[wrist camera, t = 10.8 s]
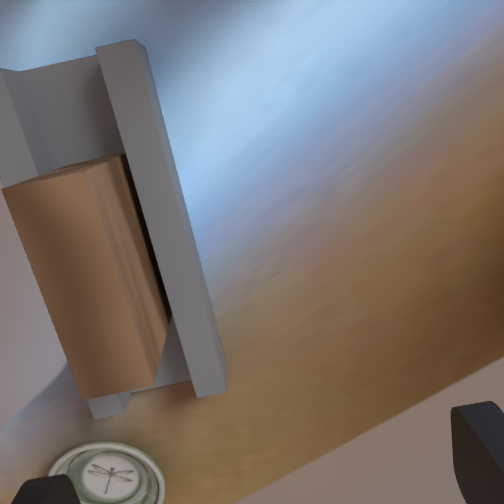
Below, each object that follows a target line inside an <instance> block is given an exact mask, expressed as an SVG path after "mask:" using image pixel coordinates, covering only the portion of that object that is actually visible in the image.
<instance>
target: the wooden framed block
mask: <svg viewBox="0 0 504 504" xmlns="http://www.w3.org/2000/svg"><path fill="white" fill-rule="evenodd" d="M2 192H3V195H4V197H5V200H6V202H7V205H8V208H9V210H10V213H11V215H12V218H13V221H14V223H15V226H16V228H17V231H18V234H19V236H20V239H21V241H22V244H23V247H24V249H25V252H26V254H27V257H28V259H29V262H30V265H31V267H32V270H33V273H34V275H35V277H36V280H37V283H38V285H39V288H40V291H41V293H42V296H43V298H44V301H45V304H46V306H47V309H48V311H49V314H50V316H51V319H52V322H53V324H54V327H55V330H56V332H57V334H58V337H59V340H60V342H61V345H62V348H63V350H64V353H65V355H66V358H67V361H68V363H69V366H70V368H71V371H72V374H73V376H74V379H75V381H76V384H77V387H78V389H79V392H80V394H81V397H82V399H83V400H87V399H92V398H97V397H102V396H106V395H111V394H116V393H121V392H126V391H131V390H136V389H140V388H145V387H150V386H154V382H155V378H156V374H157V370H158V367H159V363H160V359H161V355H162V351H163V347H164V343H165V339H166V336H167V332H168V328H169V324H170V320H171V316H172V311H171V308H170V304H169V301H168V297H167V294H166V290H165V287H164V283H163V280H162V276H161V273H160V269H159V266H158V262H157V259H156V255H155V252H154V248H153V245H152V242H151V238H150V235H149V231H148V228H147V224H146V221H145V217H144V214H143V211H142V207H141V204H140V200H139V197H138V193H137V190H136V187H135V183H134V180H133V176H132V173H131V169H130V166H129V162H128V159H127V156H126V153H122V154H118V155H113V156H108V157H103V158H99V159H94V160H89V161H84V162H80V163H75V164H70V165H66V166H63V167H61V168H58V169H55V170H52V171H50V172H47V173H44V174H41V175H39V176H36V177H33V178H30V179H28V180H25V181H22V182H19V183H17V184H14V185H11V186H8V187H6V188H3V189H2Z"/></svg>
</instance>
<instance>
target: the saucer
mask: <svg viewBox="0 0 504 504" xmlns="http://www.w3.org/2000/svg"><path fill="white" fill-rule="evenodd" d="M59 474H66V475H67V476H69V478H70V479H71V481H72V484H73V486H74V488H75V491H76V493H77V495H78V498H79V500H80V502H81V504H162V503H163V501H164V497H165V480H164V477H163V474H162V472H161V470H160V468H159V466H158V465H157V464H156V462H155V461H154V460H153V459H152V458H151V457H150V456H148V455H147V454H146V453H144V452H143V451H141V450H139V449H137V448H135V447H133V446H130V445H127V444H124V443H119V442H112V441H99V442H91V443H86V444H83V445H80V446H77V447H75V448H73V449H71V450H69V451H67V452H66V453H64V454H63V455H62V456H61V457H60V458H59V459H58V460H57V461H56V462H55V463H54V464H53V466H52V467H51V469H50V471H49V473H48V476H53V475H59ZM48 476H47V477H48Z"/></svg>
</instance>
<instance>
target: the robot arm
mask: <svg viewBox="0 0 504 504" xmlns="http://www.w3.org/2000/svg"><path fill="white" fill-rule="evenodd" d="M451 429H452V446H453V464H454V471H455V475H456V479H457V482H458V485H459V488H460V491H461V493H462V495H463V497H464V499H465V501H466V503H467V504H504V413H503V412H502V411H501V409H500V408H499V407H498V406H497V405H496V404H495V403H494V402H492V401H487V402H481V403H475V404H469V405H463V406H458V407H453V408H452V410H451ZM11 504H81V502H80V500H79V498H78V495H77V493H76V491H75V488H74V486H73V484H72V481H71V479H70V478H69V476H67V475H66V474H59V475H53V476H48V477H42V478H36V479H30V480H27V481H26V482H24V484H23V485H22V486H21V487H20V489H19V491H18V493H17V494H16V496H15V498H14V500H13V501H12V503H11Z"/></svg>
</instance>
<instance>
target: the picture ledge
mask: <svg viewBox="0 0 504 504" xmlns="http://www.w3.org/2000/svg"><path fill="white" fill-rule="evenodd" d="M95 49H96V52H97V55H94V56H90V57H85V58H80V59H76V60H71V61H67V62H62V63H57V64H53V65H48V66H44V67H39V68H34V69H30V70H25V71H20V72H19V71H13V70H7V69H1V68H0V178H1V181H2V183H3V186H4V188H6V187H8V186H11V185H14V184H17V183H19V182H22V181H25V180H28V179H30V178H33V177H36V176H39V175H41V174H44V173H47V172H50V171H52V170H55V169H58V168H61V167H63V166H66V165H70V164H75V163H80V162H84V161H89V160H94V159H99V158H103V157H108V156H113V155H118V154H122V153H126V156H127V159H128V162H129V166H130V169H131V173H132V176H133V180H134V183H135V187H136V190H137V193H138V197H139V200H140V204H141V207H142V211H143V214H144V217H145V221H146V224H147V228H148V231H149V235H150V238H151V242H152V245H153V248H154V252H155V255H156V259H157V262H158V266H159V269H160V273H161V276H162V280H163V283H164V287H165V290H166V294H167V297H168V301H169V304H170V308H171V311H172V316H171V320H170V324H169V328H168V332H167V336H166V339H165V343H164V347H163V351H162V355H161V359H160V363H159V367H158V370H157V374H156V378H155V382H154V386H150V387H145V388H140V389H136V390H131V391H126V392H121V393H116V394H111V395H106V396H102V397H97V398H92V399H87V402H88V405H89V408H90V410H91V413H92V415H93V418H94V420H96V419H101V418H106V417H111V416H116V415H120V414H124V412H125V409H126V406H127V403H128V400H129V397H130V394H131V393H133V392H137V391H142V390H147V389H152V388H156V387H161V386H166V385H171V384H176V383H180V382H185V381H190V380H192V383H193V386H194V389H195V393H196V396H197V398H202V397H206V396H211V395H216V394H221V393H226V392H227V364H226V360H225V356H224V353H223V349H222V345H221V341H220V337H219V333H218V329H217V325H216V321H215V318H214V314H213V310H212V306H211V302H210V298H209V294H208V290H207V286H206V283H205V279H204V275H203V271H202V267H201V263H200V259H199V255H198V251H197V248H196V244H195V240H194V236H193V232H192V228H191V224H190V220H189V217H188V213H187V209H186V205H185V201H184V197H183V193H182V189H181V185H180V182H179V178H178V174H177V170H176V166H175V162H174V158H173V154H172V150H171V147H170V143H169V139H168V135H167V131H166V127H165V123H164V119H163V115H162V112H161V108H160V104H159V100H158V96H157V92H156V88H155V84H154V80H153V77H152V73H151V69H150V65H149V61H148V57H147V53H146V49H145V47H144V46H143V45H141V44H140V43H139V42H137V41H136V40H135V39H132V40H128V41H123V42H119V43H114V44H109V45H105V46H100V47H96V48H95Z"/></svg>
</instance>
